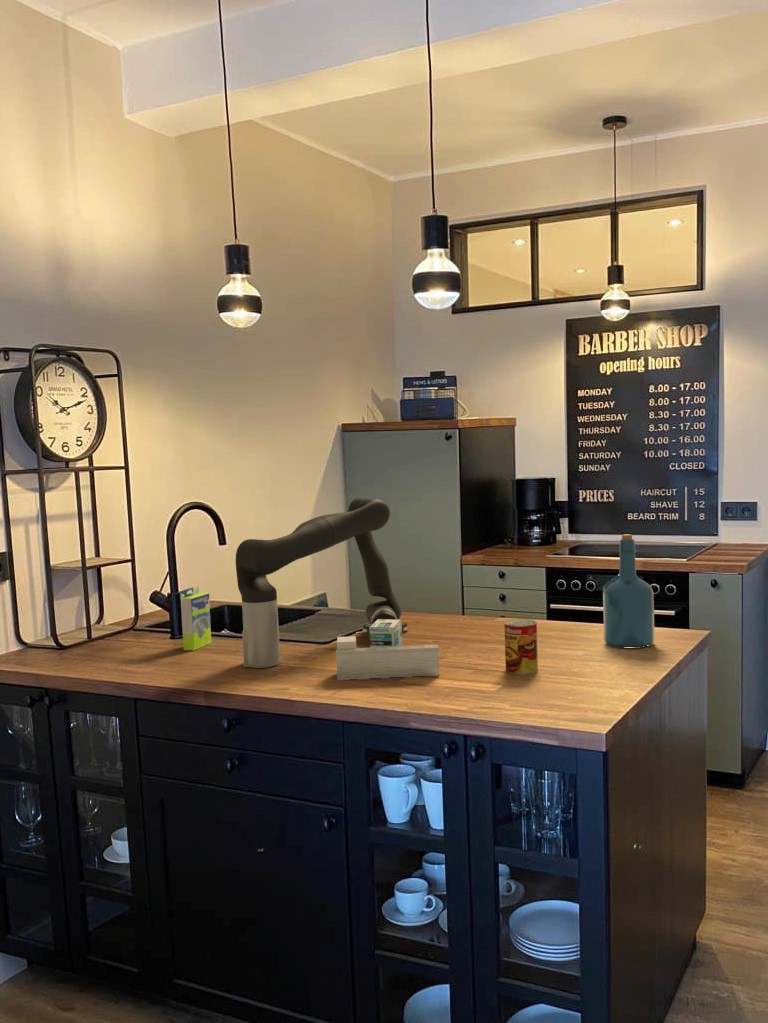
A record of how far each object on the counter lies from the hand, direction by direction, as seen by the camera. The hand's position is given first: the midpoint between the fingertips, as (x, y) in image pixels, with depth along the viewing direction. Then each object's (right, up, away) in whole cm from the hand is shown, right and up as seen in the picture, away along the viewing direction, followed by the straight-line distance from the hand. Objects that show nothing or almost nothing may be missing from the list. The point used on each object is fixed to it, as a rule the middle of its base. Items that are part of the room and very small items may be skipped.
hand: (385, 635), depth 242 cm
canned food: (+34, -6, -18) cm, 39 cm away
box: (-55, -7, +24) cm, 60 cm away
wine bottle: (+66, -3, +5) cm, 66 cm away
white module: (-9, -8, -16) cm, 20 cm away
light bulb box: (0, -7, -6) cm, 9 cm away
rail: (+1, -7, -17) cm, 19 cm away
